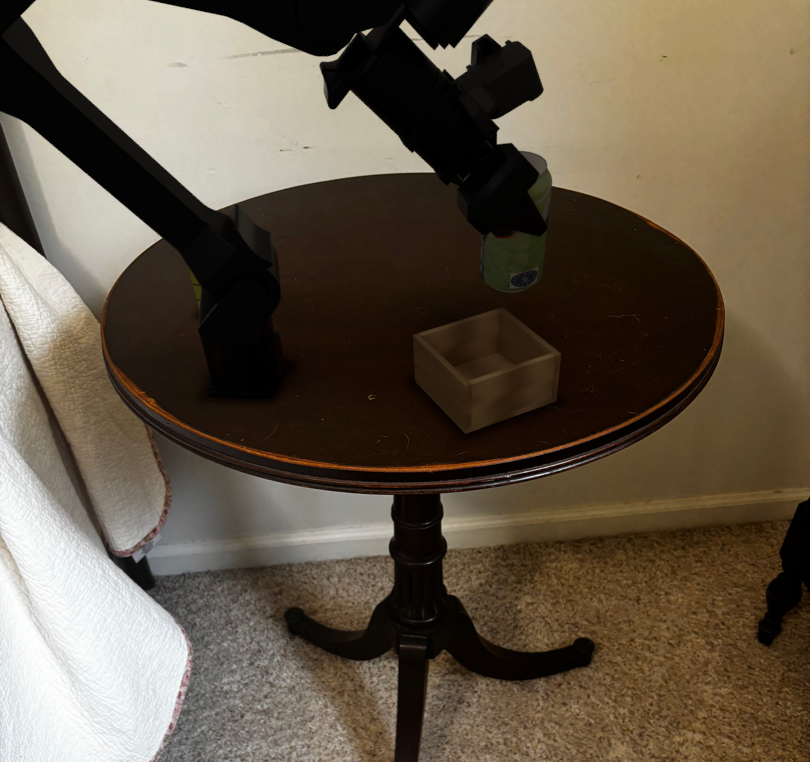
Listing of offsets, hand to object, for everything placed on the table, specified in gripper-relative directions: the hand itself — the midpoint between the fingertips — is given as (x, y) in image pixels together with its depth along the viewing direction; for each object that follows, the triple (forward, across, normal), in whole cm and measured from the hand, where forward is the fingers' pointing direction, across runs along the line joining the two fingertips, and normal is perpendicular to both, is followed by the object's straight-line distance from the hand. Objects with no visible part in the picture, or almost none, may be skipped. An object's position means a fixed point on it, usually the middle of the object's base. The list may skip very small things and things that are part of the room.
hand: (533, 218), depth 73 cm
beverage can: (+4, +1, +6) cm, 7 cm away
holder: (+5, -8, +14) cm, 16 cm away
